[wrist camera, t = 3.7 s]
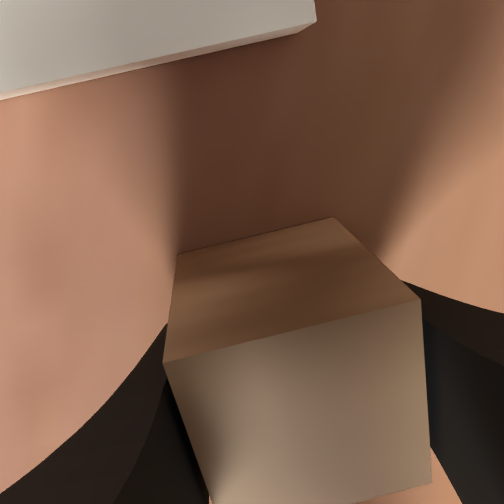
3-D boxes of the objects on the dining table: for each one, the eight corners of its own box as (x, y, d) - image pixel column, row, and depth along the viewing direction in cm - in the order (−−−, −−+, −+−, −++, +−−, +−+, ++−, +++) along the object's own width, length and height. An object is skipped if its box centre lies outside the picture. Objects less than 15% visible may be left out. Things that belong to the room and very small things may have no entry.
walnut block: (216, 381, 13) (224, 537, 9) (177, 254, 12) (162, 362, 7) (352, 347, 13) (432, 483, 9) (333, 216, 12) (420, 298, 7)
